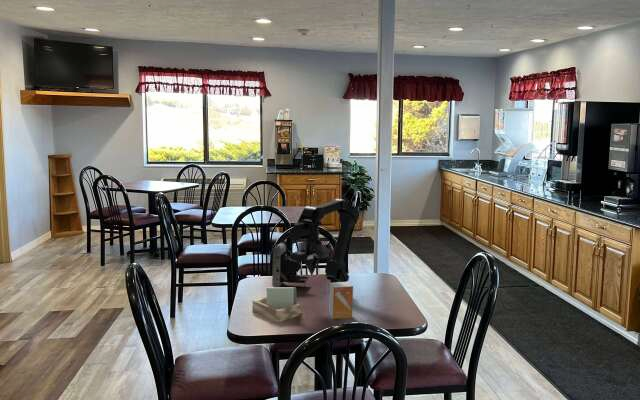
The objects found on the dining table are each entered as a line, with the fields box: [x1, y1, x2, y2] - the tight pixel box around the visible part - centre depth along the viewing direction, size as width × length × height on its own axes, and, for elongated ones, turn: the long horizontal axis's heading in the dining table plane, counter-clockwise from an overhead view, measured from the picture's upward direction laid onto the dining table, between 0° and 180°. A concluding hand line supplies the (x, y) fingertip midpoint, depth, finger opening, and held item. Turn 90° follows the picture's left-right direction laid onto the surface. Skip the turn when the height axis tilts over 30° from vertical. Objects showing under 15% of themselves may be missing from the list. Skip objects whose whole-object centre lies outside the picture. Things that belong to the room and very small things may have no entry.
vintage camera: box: [271, 241, 310, 287], centre depth 252 cm, size 10×15×20 cm, turn 78°
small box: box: [328, 281, 354, 320], centre depth 216 cm, size 8×6×13 cm
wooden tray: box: [251, 296, 302, 323], centre depth 219 cm, size 12×16×4 cm
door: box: [266, 286, 297, 310], centre depth 217 cm, size 1×12×10 cm, turn 91°
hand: (311, 273), depth 229 cm, fingers closed
